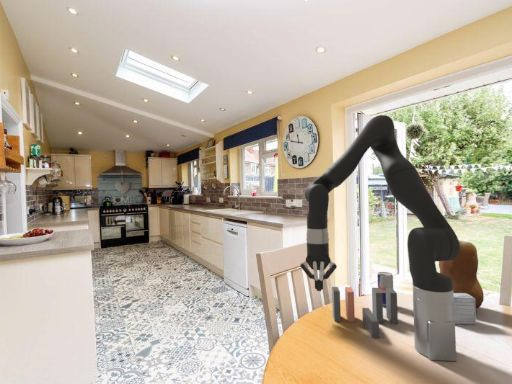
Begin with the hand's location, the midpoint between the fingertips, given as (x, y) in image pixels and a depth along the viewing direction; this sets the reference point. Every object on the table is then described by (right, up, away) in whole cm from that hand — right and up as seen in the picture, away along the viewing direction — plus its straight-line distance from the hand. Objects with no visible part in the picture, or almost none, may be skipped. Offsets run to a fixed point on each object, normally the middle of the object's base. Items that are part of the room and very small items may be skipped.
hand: (318, 290), depth 97 cm
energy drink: (+27, -9, +8) cm, 30 cm away
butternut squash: (+52, -8, +4) cm, 53 cm away
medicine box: (+44, -8, -6) cm, 46 cm away
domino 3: (+14, -6, -5) cm, 17 cm away
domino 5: (+24, -9, -4) cm, 25 cm away
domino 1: (+6, -9, -2) cm, 11 cm away
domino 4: (+19, -9, -4) cm, 21 cm away
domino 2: (+10, -9, -2) cm, 14 cm away
